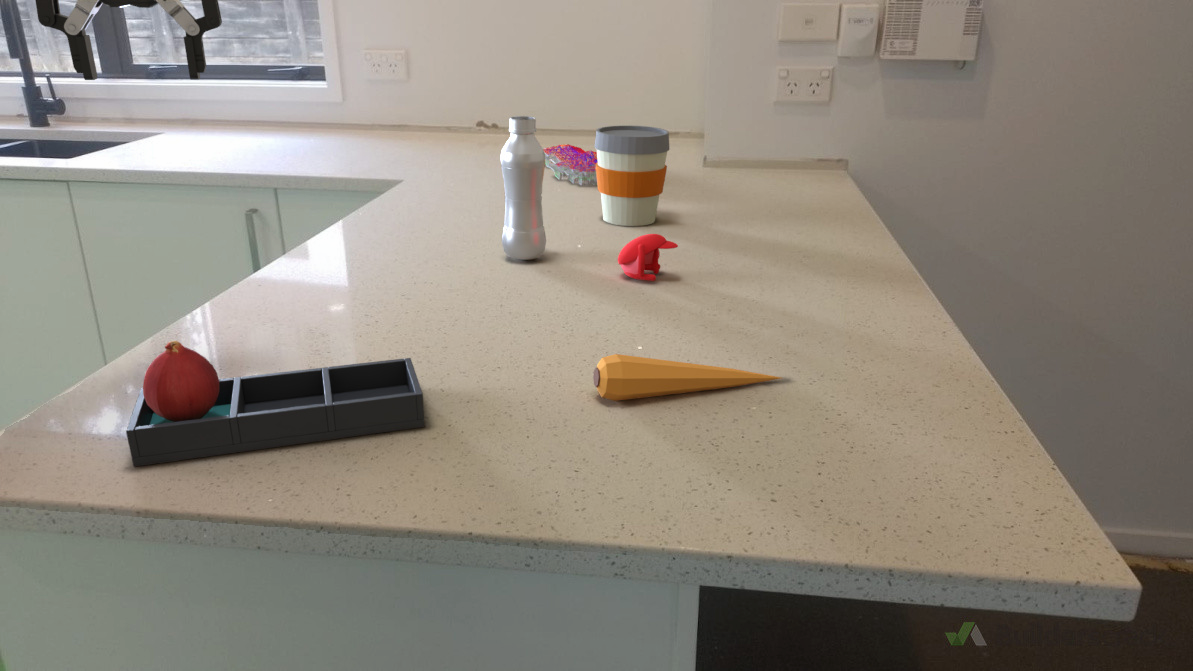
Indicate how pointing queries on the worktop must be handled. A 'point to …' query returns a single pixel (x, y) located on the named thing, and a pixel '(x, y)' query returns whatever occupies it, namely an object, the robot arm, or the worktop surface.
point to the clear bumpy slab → (572, 163)
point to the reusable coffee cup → (631, 172)
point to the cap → (643, 256)
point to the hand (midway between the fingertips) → (144, 79)
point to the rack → (284, 412)
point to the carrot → (663, 377)
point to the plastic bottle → (523, 191)
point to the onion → (180, 384)
